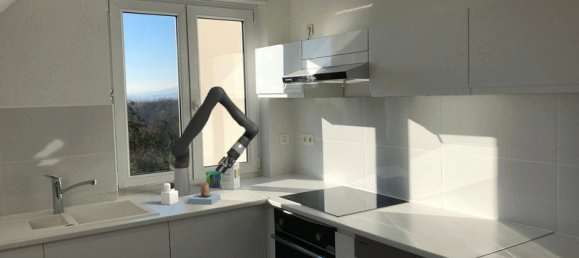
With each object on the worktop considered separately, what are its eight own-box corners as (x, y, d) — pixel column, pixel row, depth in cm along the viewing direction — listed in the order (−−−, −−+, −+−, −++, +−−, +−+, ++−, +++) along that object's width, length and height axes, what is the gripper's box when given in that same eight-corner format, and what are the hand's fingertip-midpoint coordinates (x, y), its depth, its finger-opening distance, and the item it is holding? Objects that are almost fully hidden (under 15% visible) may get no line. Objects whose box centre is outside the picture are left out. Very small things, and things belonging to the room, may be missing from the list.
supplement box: (234, 190, 321) (233, 164, 319) (221, 189, 323) (220, 164, 322) (240, 187, 330) (239, 162, 328) (227, 186, 333) (226, 162, 331)
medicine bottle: (169, 201, 292) (168, 181, 291) (178, 202, 288) (177, 182, 287) (160, 203, 286) (160, 183, 285) (169, 205, 282) (169, 184, 281)
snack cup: (214, 183, 344) (214, 169, 343) (227, 185, 339) (226, 170, 338) (200, 188, 330) (200, 173, 330) (213, 189, 325) (212, 174, 324)
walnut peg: (200, 202, 288) (199, 183, 287) (203, 200, 292) (202, 182, 291) (207, 202, 287) (206, 183, 286) (210, 200, 291) (209, 182, 290)
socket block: (188, 203, 284) (188, 198, 284) (198, 198, 298) (198, 193, 297) (211, 204, 281) (211, 199, 281) (220, 199, 294) (220, 194, 294)
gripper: (226, 146, 302) (210, 166, 297) (236, 148, 290) (219, 169, 285) (235, 154, 306) (218, 174, 300) (245, 156, 293) (228, 177, 288)
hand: (219, 171), depth 293 cm, fingers open, 8 cm apart
